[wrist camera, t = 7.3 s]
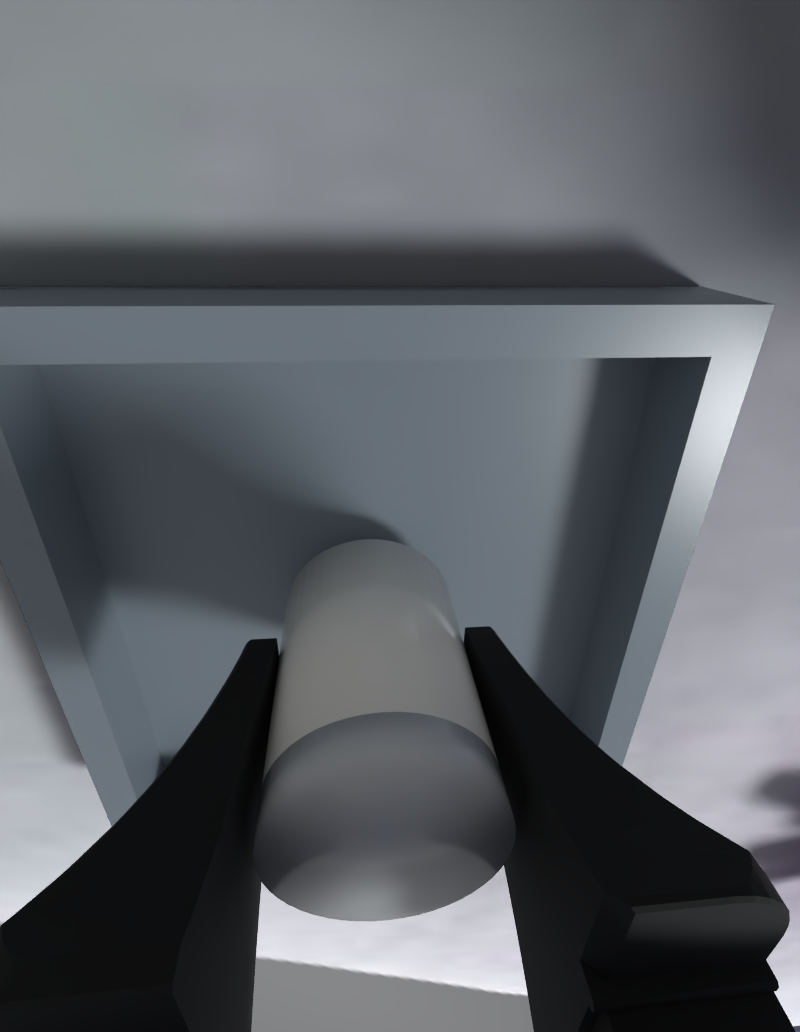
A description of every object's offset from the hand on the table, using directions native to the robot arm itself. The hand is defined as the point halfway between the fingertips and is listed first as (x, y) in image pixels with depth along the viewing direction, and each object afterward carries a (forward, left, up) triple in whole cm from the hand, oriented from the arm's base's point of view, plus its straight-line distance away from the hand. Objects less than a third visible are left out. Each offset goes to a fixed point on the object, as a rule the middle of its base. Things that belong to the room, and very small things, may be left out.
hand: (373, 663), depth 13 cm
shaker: (0, 0, -2) cm, 2 cm away
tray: (0, 0, -3) cm, 3 cm away
